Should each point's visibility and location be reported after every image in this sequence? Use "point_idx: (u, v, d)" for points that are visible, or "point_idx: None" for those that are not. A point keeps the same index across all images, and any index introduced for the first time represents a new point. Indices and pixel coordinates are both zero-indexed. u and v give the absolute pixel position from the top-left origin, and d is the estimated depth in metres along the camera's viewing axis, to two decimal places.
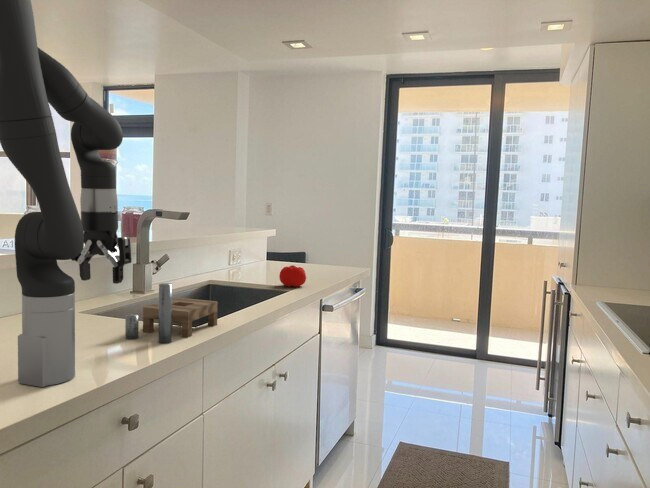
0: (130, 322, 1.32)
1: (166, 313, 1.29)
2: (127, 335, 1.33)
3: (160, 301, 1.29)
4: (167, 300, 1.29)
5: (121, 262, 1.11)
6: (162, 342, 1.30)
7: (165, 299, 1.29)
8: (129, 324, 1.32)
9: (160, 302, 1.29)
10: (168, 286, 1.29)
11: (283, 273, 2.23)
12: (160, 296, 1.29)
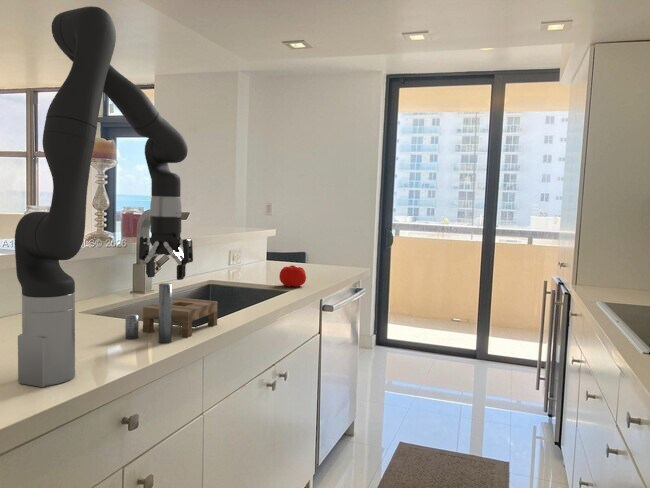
0: (130, 322, 1.32)
1: (166, 313, 1.29)
2: (127, 335, 1.33)
3: (160, 301, 1.29)
4: (168, 300, 1.29)
5: (185, 261, 1.27)
6: (162, 342, 1.30)
7: (165, 299, 1.29)
8: (129, 324, 1.32)
9: (160, 302, 1.29)
10: (168, 286, 1.29)
11: (283, 273, 2.23)
12: (160, 296, 1.29)
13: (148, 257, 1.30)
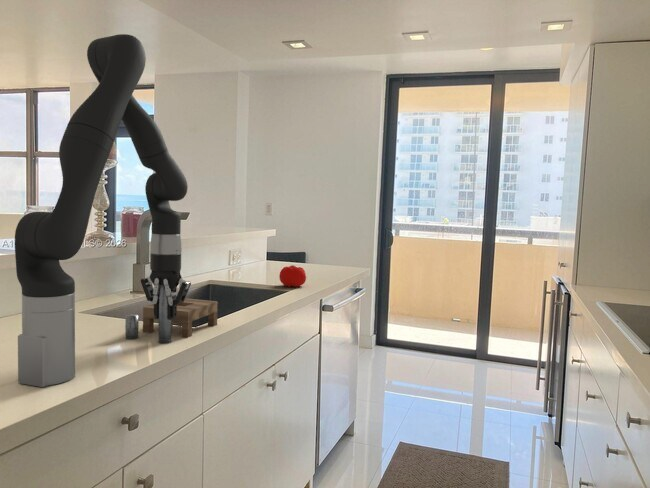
0: (130, 322, 1.32)
1: (166, 313, 1.29)
2: (127, 335, 1.33)
3: (160, 301, 1.29)
4: (167, 300, 1.29)
5: (176, 301, 1.28)
6: (162, 342, 1.30)
7: (165, 298, 1.29)
8: (129, 324, 1.32)
9: (160, 302, 1.29)
10: None
11: (283, 273, 2.23)
12: (160, 296, 1.29)
13: (156, 298, 1.30)
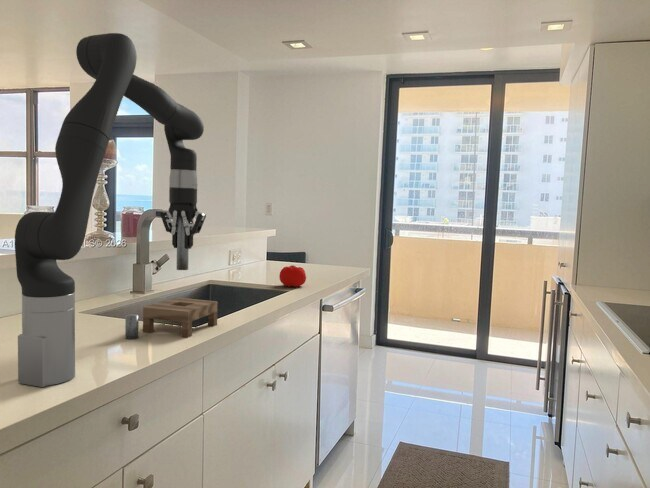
0: (130, 322, 1.32)
1: (183, 243, 1.42)
2: (127, 335, 1.33)
3: (178, 231, 1.42)
4: (185, 231, 1.42)
5: (193, 231, 1.41)
6: (180, 269, 1.43)
7: (183, 229, 1.42)
8: (129, 324, 1.32)
9: (178, 232, 1.42)
10: None
11: (283, 273, 2.23)
12: (178, 227, 1.42)
13: (174, 229, 1.43)
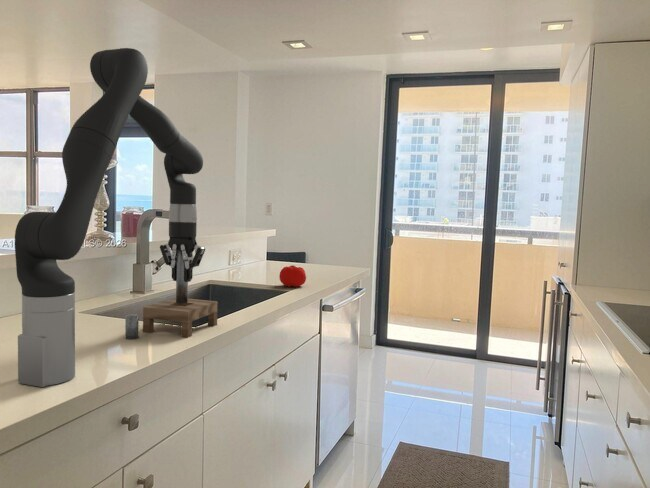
0: (130, 322, 1.32)
1: (183, 276, 1.43)
2: (127, 335, 1.33)
3: (177, 264, 1.43)
4: (184, 264, 1.43)
5: (192, 265, 1.42)
6: (179, 302, 1.44)
7: (182, 262, 1.43)
8: (129, 324, 1.32)
9: (178, 266, 1.43)
10: None
11: (283, 273, 2.23)
12: (178, 260, 1.43)
13: (174, 263, 1.44)
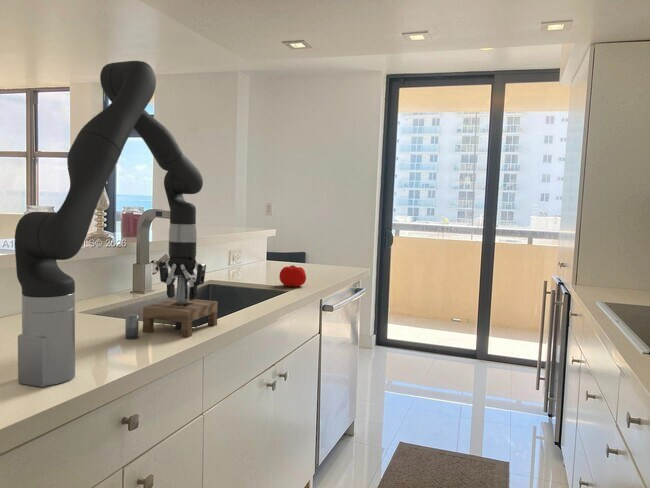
0: (130, 322, 1.32)
1: (183, 302, 1.44)
2: (127, 335, 1.33)
3: (178, 291, 1.44)
4: (185, 291, 1.44)
5: (197, 283, 1.42)
6: (179, 328, 1.44)
7: (183, 289, 1.43)
8: (129, 324, 1.32)
9: (178, 292, 1.44)
10: None
11: (283, 273, 2.23)
12: (178, 287, 1.43)
13: (169, 280, 1.45)
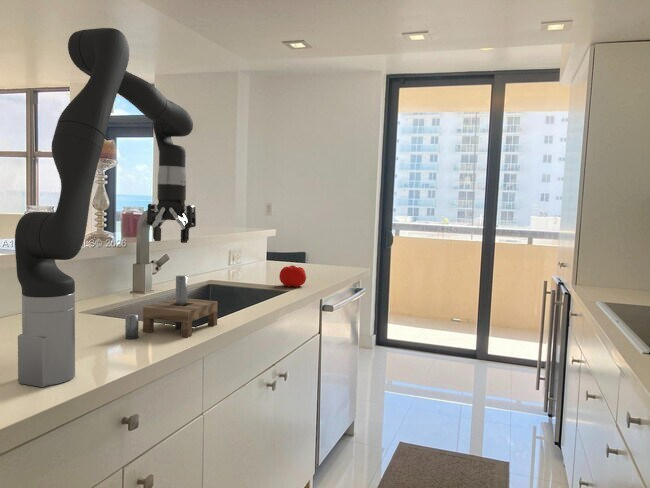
0: (130, 322, 1.32)
1: (182, 302, 1.44)
2: (127, 335, 1.33)
3: (176, 291, 1.44)
4: (184, 291, 1.44)
5: (188, 225, 1.39)
6: (179, 328, 1.44)
7: (181, 289, 1.43)
8: (129, 324, 1.32)
9: (177, 292, 1.44)
10: (184, 278, 1.44)
11: (283, 273, 2.23)
12: (177, 287, 1.44)
13: (155, 222, 1.42)
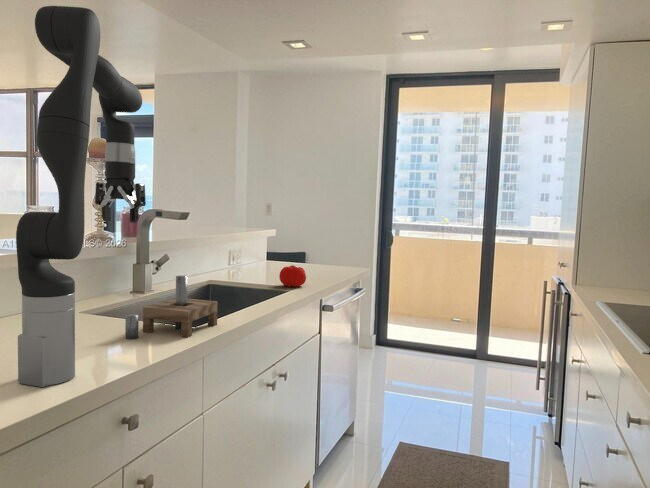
0: (130, 322, 1.32)
1: (182, 302, 1.44)
2: (127, 335, 1.33)
3: (176, 291, 1.44)
4: (184, 291, 1.44)
5: (137, 204, 1.34)
6: (179, 328, 1.44)
7: (181, 289, 1.43)
8: (129, 324, 1.32)
9: (177, 292, 1.44)
10: (184, 278, 1.44)
11: (283, 273, 2.23)
12: (177, 287, 1.44)
13: (103, 201, 1.37)
